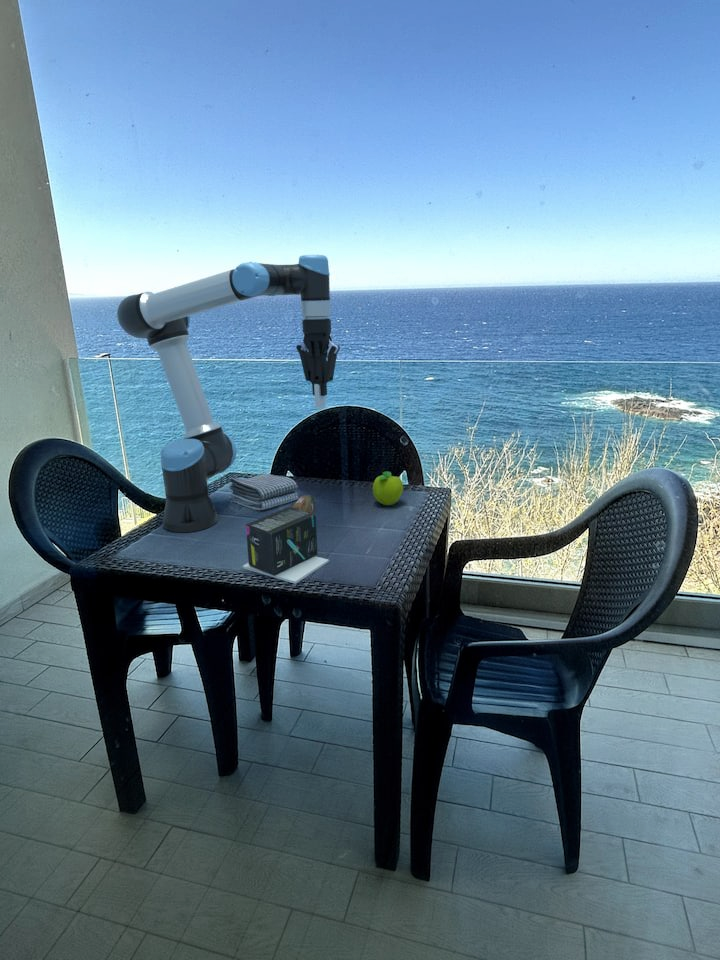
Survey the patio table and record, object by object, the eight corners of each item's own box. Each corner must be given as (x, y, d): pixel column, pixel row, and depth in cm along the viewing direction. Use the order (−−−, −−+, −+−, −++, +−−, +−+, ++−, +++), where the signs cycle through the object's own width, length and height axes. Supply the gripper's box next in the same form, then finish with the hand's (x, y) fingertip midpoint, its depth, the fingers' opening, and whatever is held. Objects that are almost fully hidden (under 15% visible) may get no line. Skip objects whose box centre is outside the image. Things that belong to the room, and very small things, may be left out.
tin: (301, 539, 156) (299, 509, 154) (289, 538, 157) (287, 508, 154) (316, 518, 170) (315, 491, 168) (305, 518, 171) (304, 490, 168)
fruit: (369, 508, 177) (368, 476, 174) (378, 498, 186) (377, 467, 183) (398, 510, 175) (398, 478, 171) (406, 500, 183) (406, 469, 180)
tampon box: (289, 505, 147) (243, 523, 136) (316, 513, 141) (271, 533, 130) (291, 545, 150) (247, 565, 139) (317, 555, 145) (273, 577, 134)
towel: (262, 514, 175) (260, 489, 173) (226, 501, 187) (224, 478, 185) (300, 500, 186) (299, 477, 184) (264, 489, 198) (262, 467, 196)
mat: (242, 568, 140) (242, 565, 140) (278, 548, 150) (277, 546, 150) (295, 583, 132) (295, 581, 131) (329, 562, 142) (328, 559, 142)
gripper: (345, 317, 153) (347, 407, 160) (305, 317, 160) (309, 403, 167) (328, 318, 147) (332, 411, 154) (287, 318, 154) (293, 408, 161)
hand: (320, 407), depth 160 cm, fingers closed
